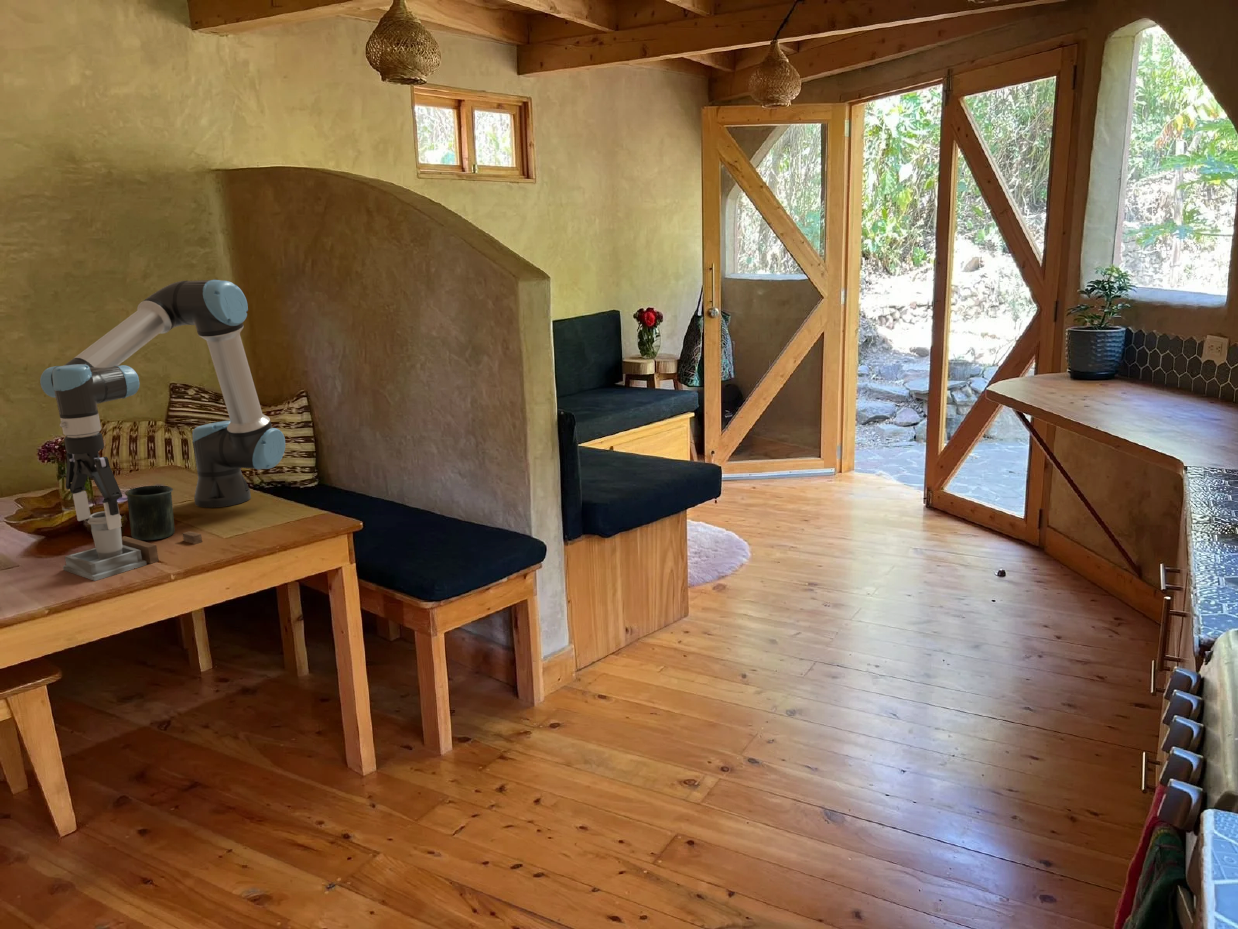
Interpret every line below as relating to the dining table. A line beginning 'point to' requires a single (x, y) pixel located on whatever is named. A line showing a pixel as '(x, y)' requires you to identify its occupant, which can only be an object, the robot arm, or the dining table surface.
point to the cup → (105, 536)
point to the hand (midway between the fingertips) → (99, 523)
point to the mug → (150, 512)
